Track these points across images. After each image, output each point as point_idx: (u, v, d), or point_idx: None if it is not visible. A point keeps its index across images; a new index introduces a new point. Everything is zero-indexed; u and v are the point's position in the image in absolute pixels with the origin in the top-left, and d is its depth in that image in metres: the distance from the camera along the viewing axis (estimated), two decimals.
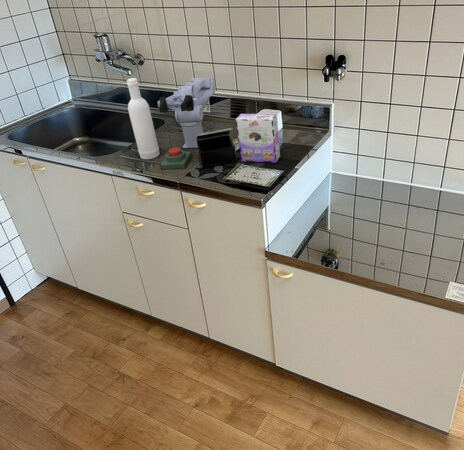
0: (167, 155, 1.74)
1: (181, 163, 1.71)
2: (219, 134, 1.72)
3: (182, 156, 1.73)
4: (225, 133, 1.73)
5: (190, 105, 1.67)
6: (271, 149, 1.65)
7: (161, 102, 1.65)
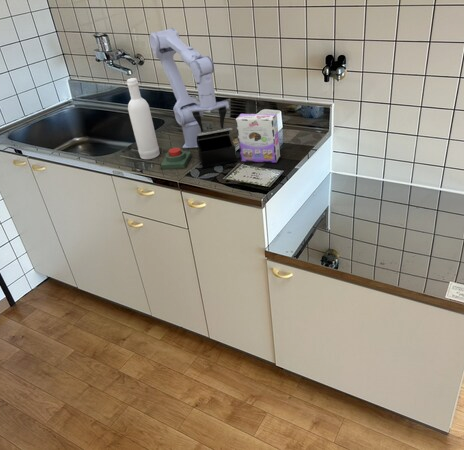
0: (167, 155, 1.74)
1: (181, 163, 1.71)
2: (219, 134, 1.72)
3: (182, 156, 1.73)
4: (225, 133, 1.73)
5: None
6: (271, 149, 1.65)
7: (200, 124, 1.69)
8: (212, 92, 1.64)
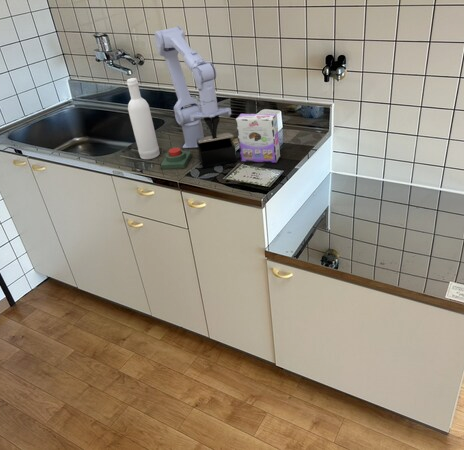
0: (167, 155, 1.74)
1: (181, 163, 1.71)
2: None
3: (182, 156, 1.73)
4: None
5: None
6: (271, 149, 1.65)
7: (211, 129, 1.67)
8: (214, 99, 1.61)
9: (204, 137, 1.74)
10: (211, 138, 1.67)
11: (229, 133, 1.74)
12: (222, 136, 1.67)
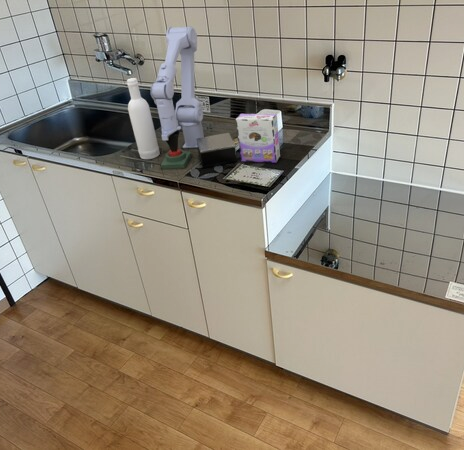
0: (167, 155, 1.74)
1: (181, 163, 1.71)
2: None
3: (182, 156, 1.73)
4: None
5: None
6: (271, 149, 1.65)
7: (176, 143, 1.72)
8: (165, 117, 1.64)
9: (204, 139, 1.74)
10: (212, 146, 1.68)
11: (230, 136, 1.74)
12: (223, 144, 1.68)
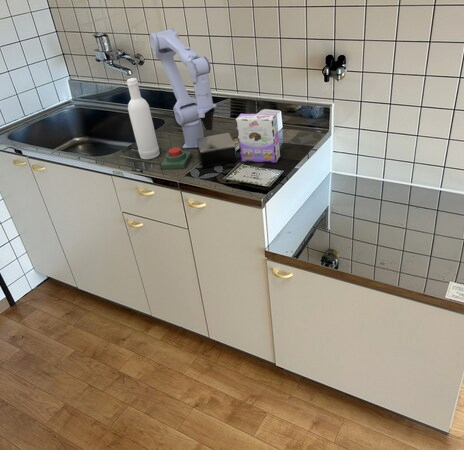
0: (167, 155, 1.74)
1: (181, 163, 1.71)
2: None
3: (182, 156, 1.73)
4: None
5: None
6: (271, 149, 1.65)
7: (211, 121, 1.70)
8: (208, 92, 1.64)
9: (204, 139, 1.74)
10: (212, 146, 1.68)
11: (230, 136, 1.74)
12: (223, 144, 1.68)
